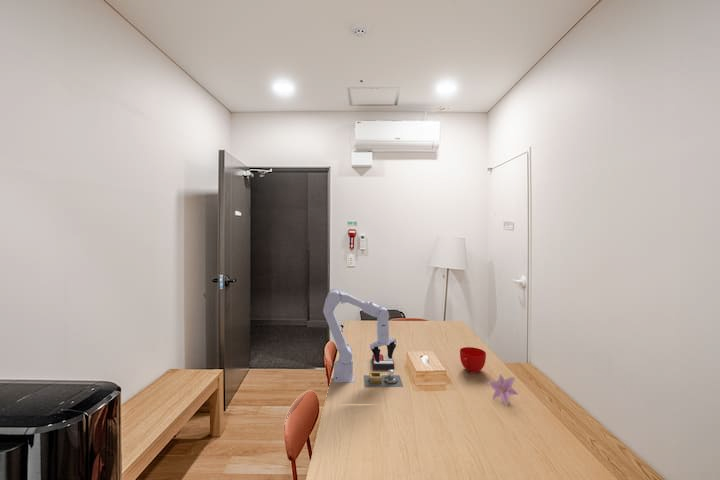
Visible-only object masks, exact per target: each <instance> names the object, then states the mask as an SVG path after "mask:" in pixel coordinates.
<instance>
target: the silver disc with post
mask: <svg viewBox="0 0 720 480" xmlns="http://www.w3.org/2000/svg"><path fill="white" fill-rule="evenodd" d="M387 372H388V374H387V375H388V376H386V377H385V378H384V381H385V382H386V383H388V384H395V383H397V382H398V378H397V377H395V376H394V375H395V369H394V370H392V369H390V370H388V371H387Z"/></svg>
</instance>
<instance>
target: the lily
mask: <svg viewBox="0 0 720 480" xmlns="http://www.w3.org/2000/svg"><path fill="white" fill-rule="evenodd" d="M515 380H516V377H514V376H512V377H509V378H506V379H505V377H503V375H502V374H501V373H499V376H498V379H497V380H491V381H488V382H487V384H488V386H489V387H491V389H493V390H494V392H493V396H492V399H497V398H500V399H501V401H502V402H503V404H504V405H505V406H508V405H509V400H510V396H517V395H519V393H518V392H517V391H516V390H515V389H514V388H513V385H514V383H515Z"/></svg>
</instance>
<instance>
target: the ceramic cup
mask: <svg viewBox="0 0 720 480" xmlns="http://www.w3.org/2000/svg"><path fill="white" fill-rule="evenodd" d="M459 358H460V362H461V365H462V366H463V367H462V368H464V369H465V370H466V371H467V373H470V374H471V373H472V374H478V373H480V371H482V369H483V368H484V367H485V365H486V360H487V359H486V358H487V352H486V351H485V350H483V349H480V348H478V347H474V346H473V347H471V346H469V347H467V346H466V347H461V348H460V349H459Z"/></svg>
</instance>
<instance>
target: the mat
mask: <svg viewBox="0 0 720 480" xmlns="http://www.w3.org/2000/svg"><path fill="white" fill-rule="evenodd" d="M381 375H382V384H370V379H369V374H368V375H367V374H366V375H363V383H364V388H403V387H404V385H403V381H402V379H401V375H400V374H396V375H395V374H394V376H395V377H397V378H398V382H397V383H395V384H388V383H386V382H385V381H384V378H385V377H386V376H388V374H386V375H385V374H381Z"/></svg>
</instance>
